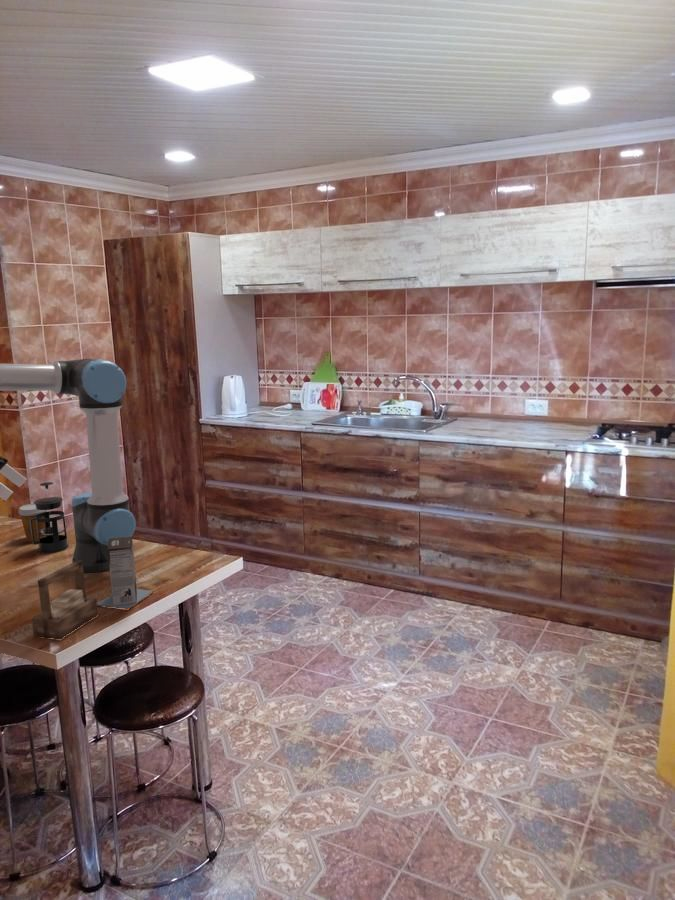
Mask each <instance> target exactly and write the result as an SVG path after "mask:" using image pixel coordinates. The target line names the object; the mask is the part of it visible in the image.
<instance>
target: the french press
mask: <svg viewBox="0 0 675 900" xmlns="http://www.w3.org/2000/svg"><path fill="white" fill-rule="evenodd" d="M51 485H54V483H53V482H52V481H46V482H41V483H40V484H39V486H40V487H41V486H43V487H45V489H46V495H47V496H46V497H43V498H38V499H35V501H33V503H34V504H35V505H36V509H37V510H47V512H43V513H40V514H37V515H36V517H35V518H30V528H31V536H32V542H31V544H33V545H38V552H39V553H43V554H52V553H53V552H54V553H58V552H62V550H63V551H65V550H67V549H68V548H69V543H68V537H67V526H66V518H65V517H66V516H65V512H64V511H63V510H54V509H58V508H60V507H61V506H62V501H63V500H64V498H63V497H59V496H52V497H51V496H49V490H48V489H49V486H51ZM53 515H55V516H54V517H52V516H53ZM56 515H58V516H56ZM43 516H44V518H40V517H43ZM32 520H36V525H37V534H38V541H36V542H34V535H33V526H32ZM60 520H62V522H63V523H62V524H63V526H58V521H60ZM38 522H45V528H44V529H42V530H40V531H39V526H38ZM62 533H64V534H62ZM40 535H42V536H46V537H43V538H41V539H40Z"/></svg>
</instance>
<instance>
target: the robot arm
mask: <svg viewBox="0 0 675 900" xmlns="http://www.w3.org/2000/svg"><path fill="white" fill-rule="evenodd" d="M126 389H127V377H126V375H125V373H124V371H123V370H122V369H121V367H119V366H118V365H117V364H116V363H115V362H112V361H109V360H107V359H100V358H99V359H98V358H97V359H95V358H81V359H79V358H78V359H74V360H71V359H70V360H54V361H53V362H52V363H51V364H50V363H48V364H47V363H45V364H44V363H41V364H40V363H0V391H2V392H5V391H8V392H10V391H11V392H12V391H13V392H14V391H15V392H18V391H19V392H20V391H21V392H22V391H23V392H25V391H31V392H32V391H37V392H38V391H41V392H42V391H52V392H53V393H54V394H56V395H69V396H71V395H72V396H76V397H78V404H79V406H78V407H79V409H80V411H82V412H83V413H84V414H85V419H86V423H85V424H86V435H87V445H88V448H87V449H88V458H89V459H88V460H89V474H90V486H91V491H90V492H85V493H81V494H78V495H75V496H73V497H72V500H71V509H72V515H73V516H72V517H73V527H74V534H75V535H74V536H75V547H74V551H73V556H72V560H71V563H73V562H75V561H77V560H80V561H82V563H83V572H84V573H97V572H98V573H99V572H104V571H110V567H109V556H108V540H109V539H111V538H119V537H133V536H134V533H135V530H136V526H137V520H136V519H135V516H134V514H133V513H132V512H131V511H130V501H129V498H130V497H129V496H128V495H127V494H126V493H125V492H124V491H123V479H122V478H123V476H122V464H121V461H122V459H121V449H120V447H121V446H120V433H119V420H118V412H119V410H121V408H122V407H123V395H124V394H125V393H126ZM8 462H9V459H7V458H5V457H3V456H1V455H0V474H1V475H2V476H4V477H5V478H6V479H8V480H9V481H10V482H12V483H13V484H14V485H16V486H17V487H18V488H21V487H22V485H24V483H26V481H27V480H28V479H27V478H26V477H25V476H24V475H22V474H21V473H20V472H18V471H17V470H16V469H15V468H13V467H12V466H10V465H9V464H8ZM13 493H14V491H13V490H11V489H10V488H9V487H7V486H6V485H5V484H3V483H2V482H1V481H0V498H1V499H2V500H3V501H5V502H6V501H7V499H9V497H10V496H12V494H13Z"/></svg>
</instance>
